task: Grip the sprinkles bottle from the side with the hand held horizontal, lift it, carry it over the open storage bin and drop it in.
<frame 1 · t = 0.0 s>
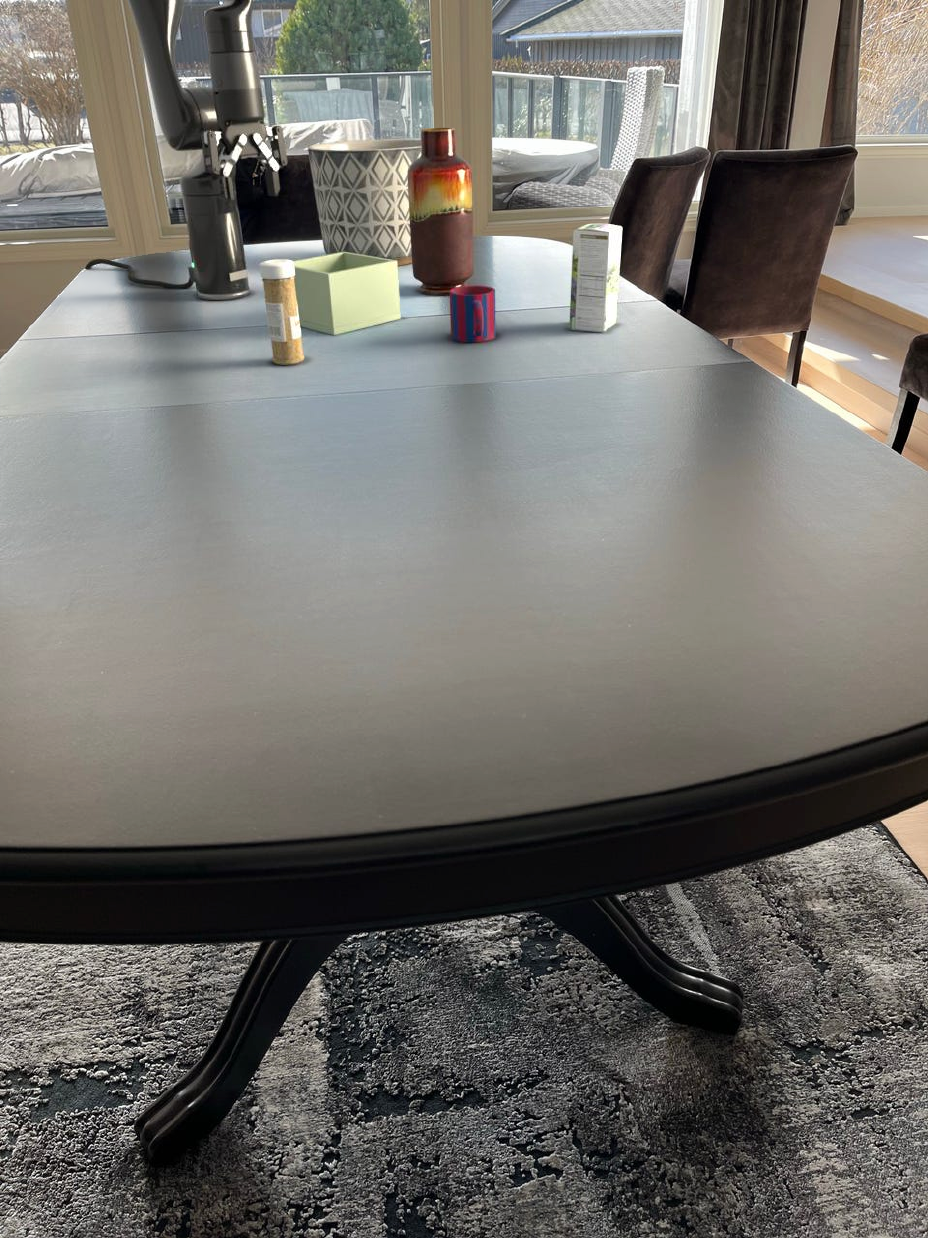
hand: (251, 198, 156), 17 cm above the table, tool pointing down, fingers open, 8 cm apart
sprinkles bottle: (288, 362, 133), on the table
syrup box: (593, 328, 145), on the table
mug: (473, 341, 141), on the table
vase: (444, 291, 171), on the table
planter: (381, 261, 198), on the table
open storage bin: (342, 320, 154), on the table
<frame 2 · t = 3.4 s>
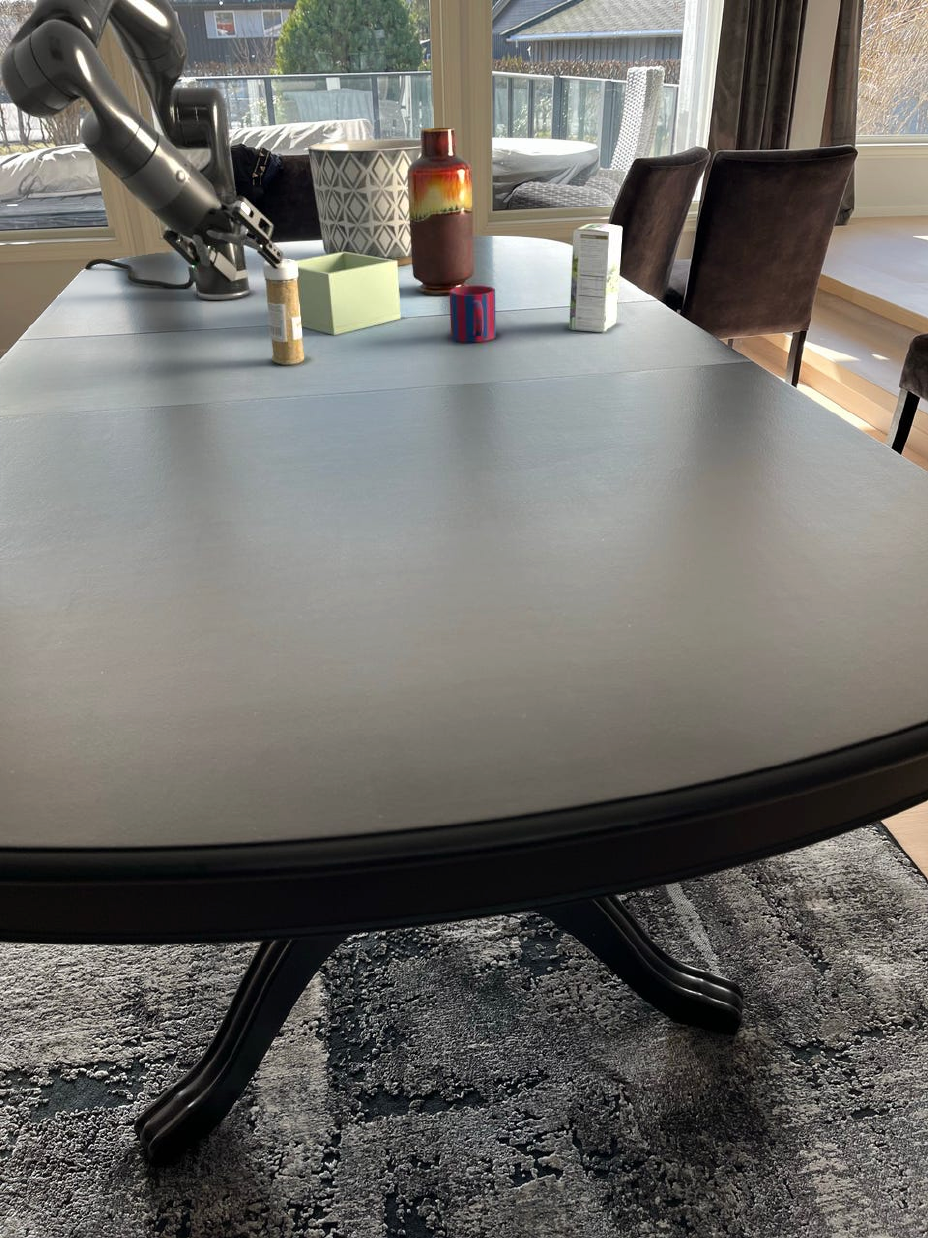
hand: (256, 269, 126), 13 cm above the table, tool tilted 45°, fingers open, 8 cm apart
sprinkles bottle: (288, 361, 133), on the table, touching gripper
everything else where it was.
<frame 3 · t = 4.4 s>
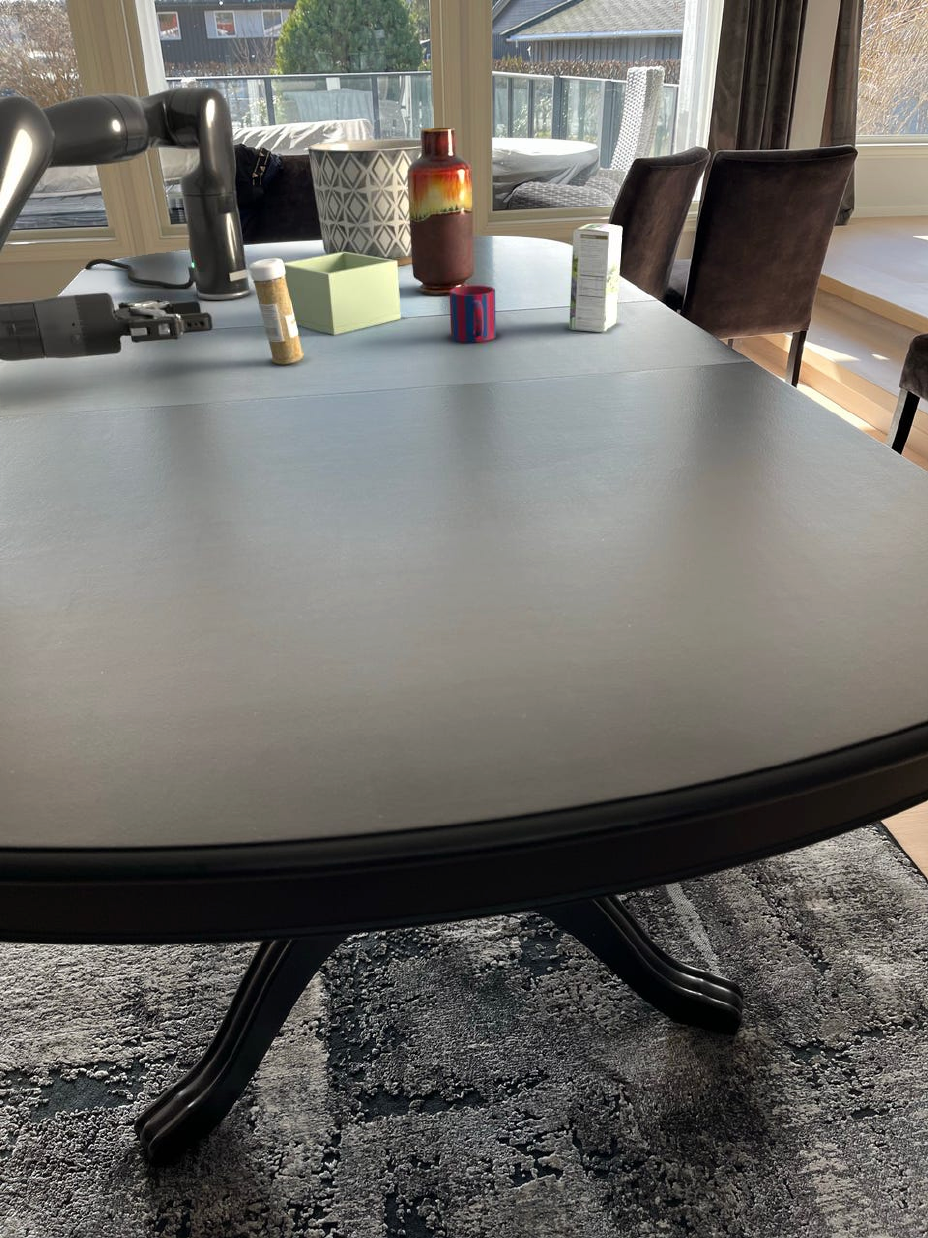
hand: (205, 315, 126), 8 cm above the table, tool horizontal, fingers open, 8 cm apart
sprinkles bottle: (288, 361, 133), on the table
everything else where it was.
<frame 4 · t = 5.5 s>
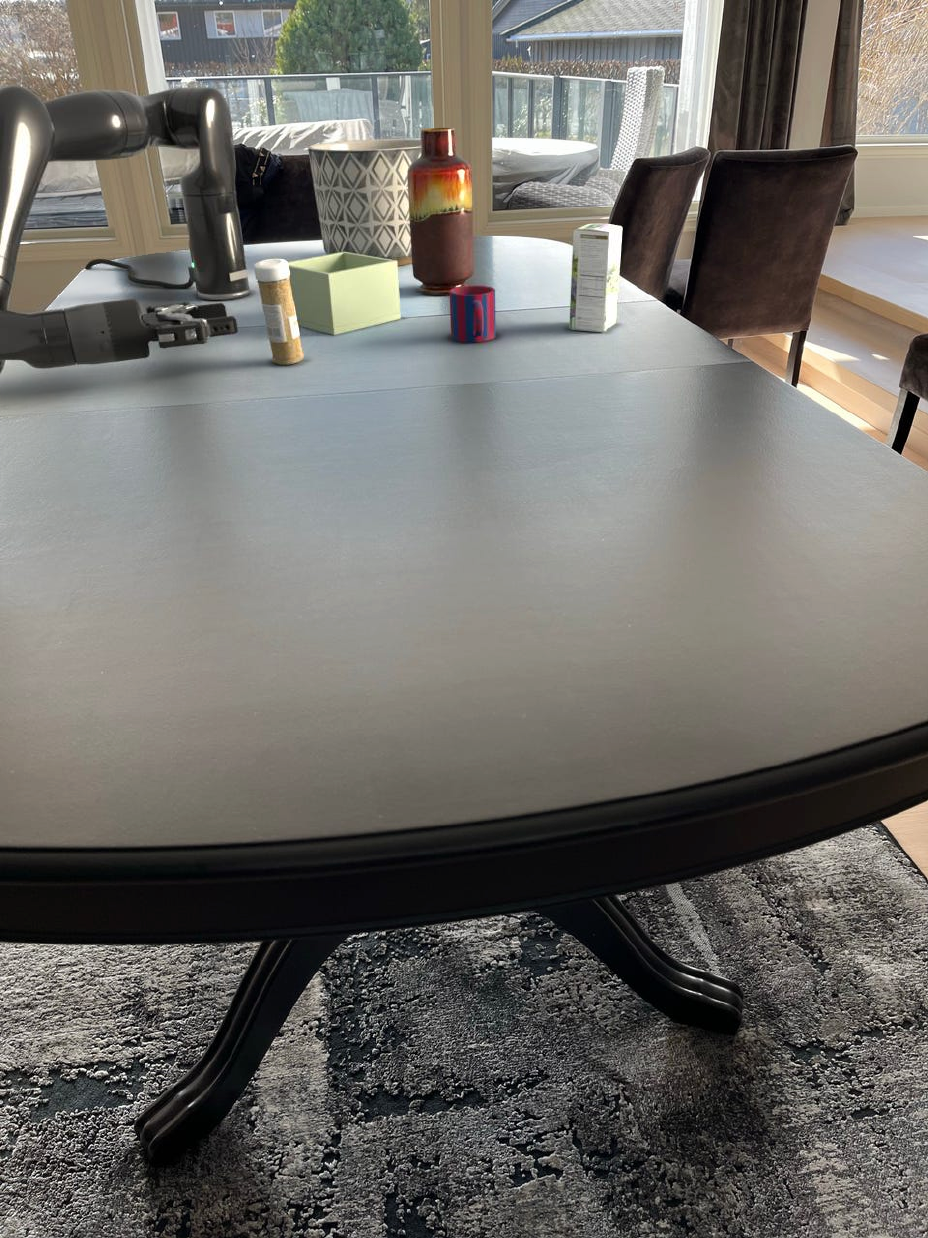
hand: (231, 317, 128), 7 cm above the table, tool horizontal, fingers open, 8 cm apart
nothing on the table moved.
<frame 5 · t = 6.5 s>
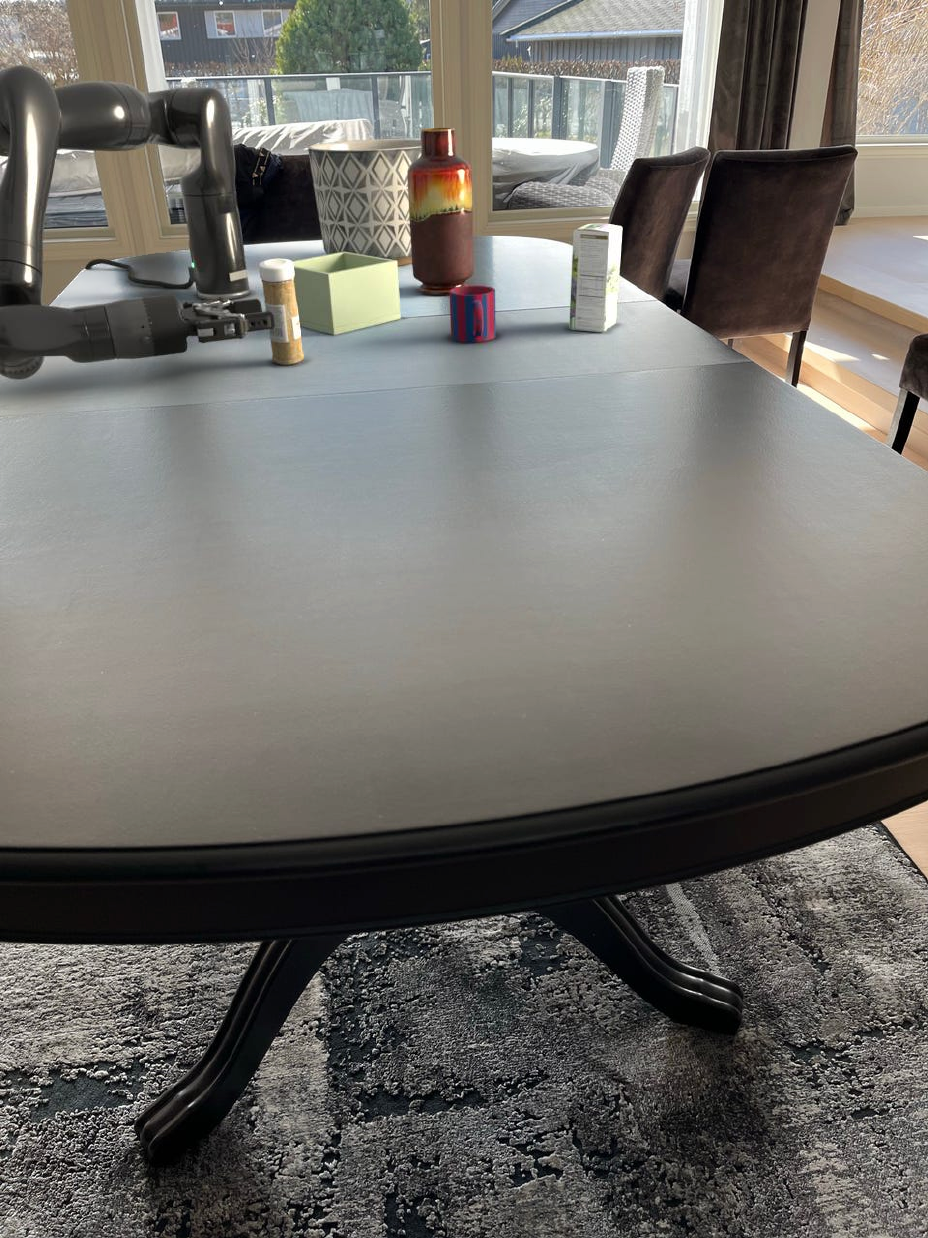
hand: (267, 312, 129), 7 cm above the table, tool horizontal, fingers open, 8 cm apart
nothing on the table moved.
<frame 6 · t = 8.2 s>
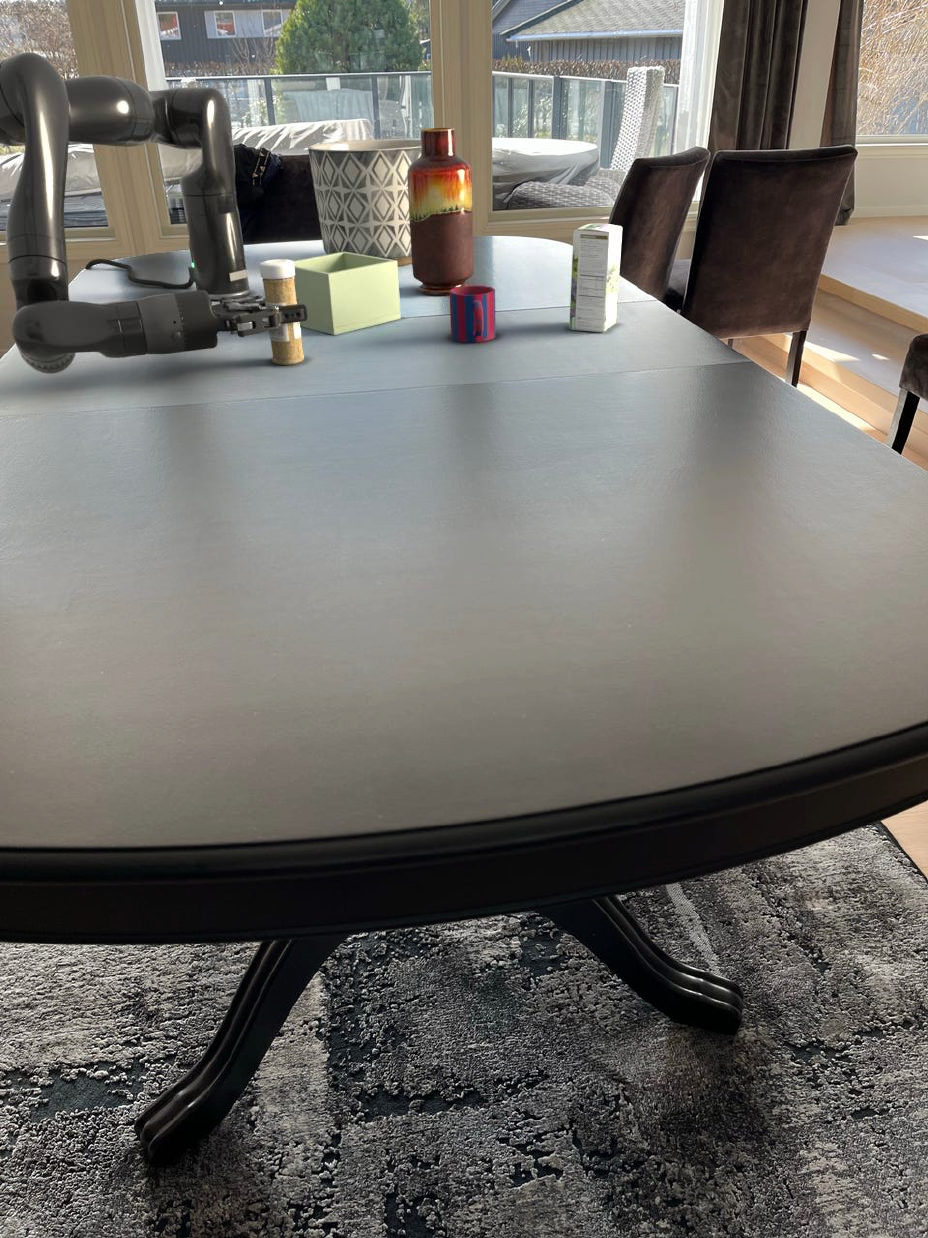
hand: (301, 308, 131), 7 cm above the table, tool horizontal, fingers closed on sprinkles bottle, 4 cm apart
sprinkles bottle: (288, 362, 133), on the table, touching gripper
everything else where it was.
when the fingers open (12 cm above the table, at t = 17.2 s): sprinkles bottle drops 4 cm, resting on open storage bin.
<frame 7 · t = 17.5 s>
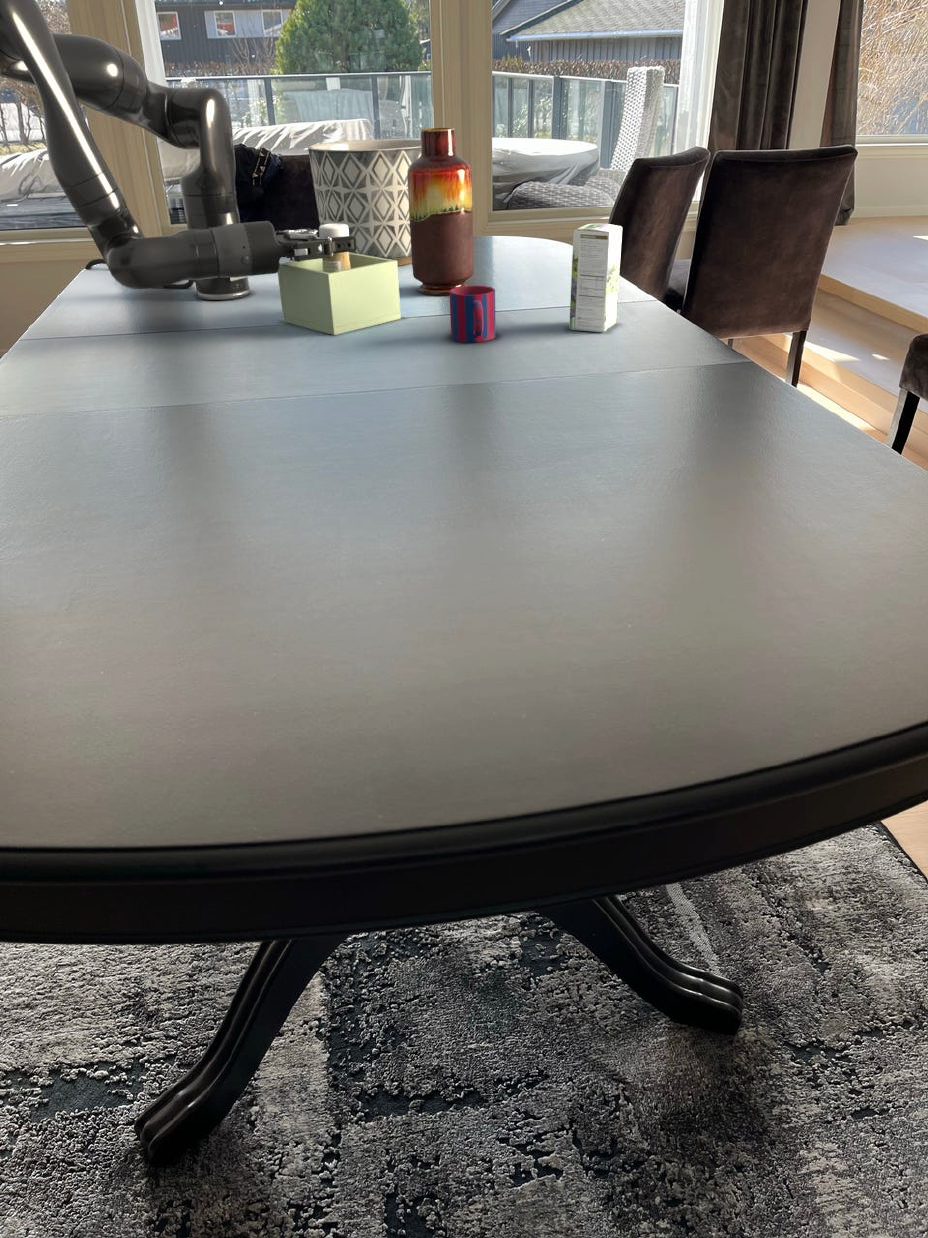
hand: (349, 239, 148), 12 cm above the table, tool horizontal, fingers open, 6 cm apart
sprinkles bottle: (340, 314, 153), point 1 cm above the table, touching open storage bin
everything else where it was.
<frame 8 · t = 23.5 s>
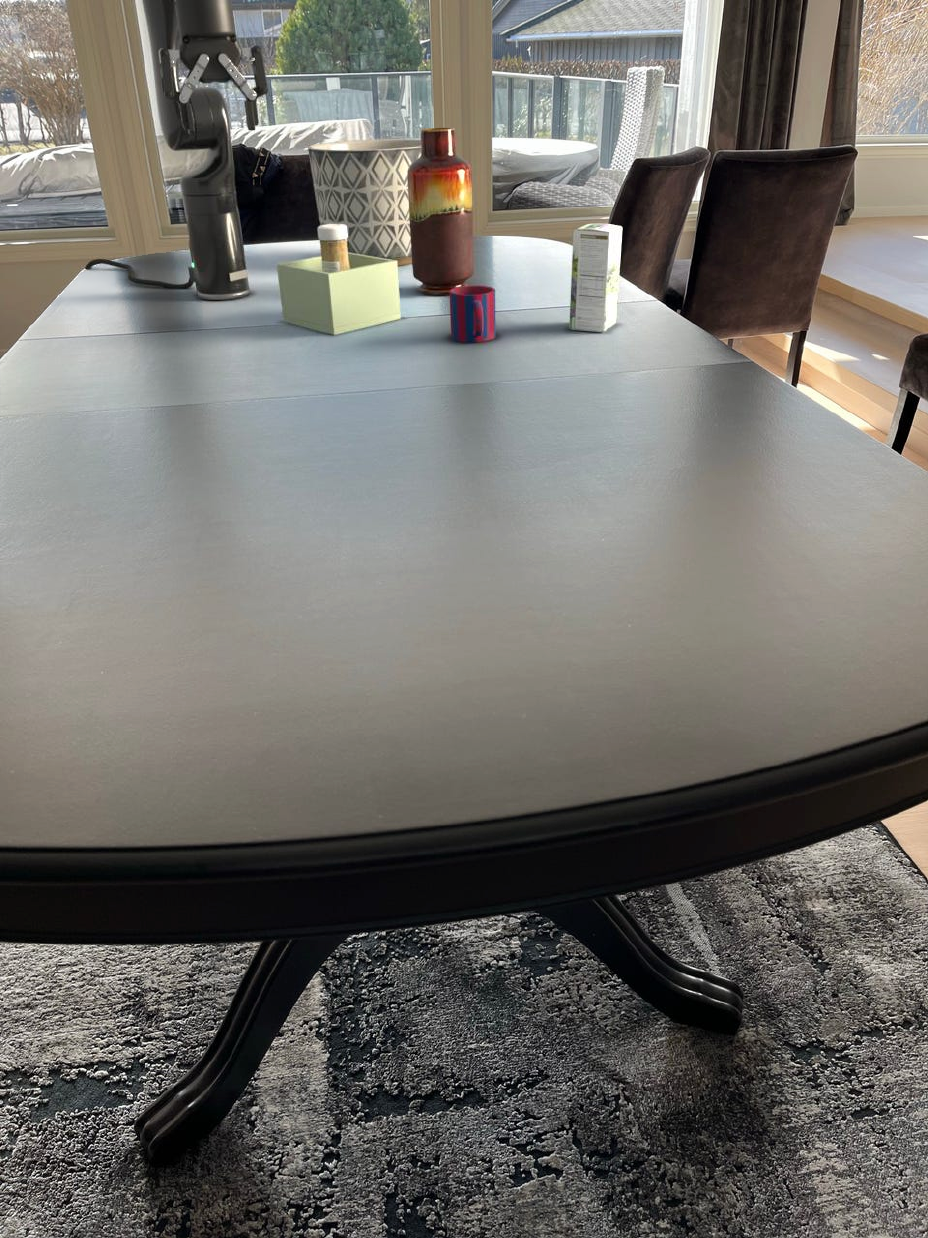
hand: (221, 131, 134), 28 cm above the table, tool pointing down, fingers open, 8 cm apart
nothing on the table moved.
at the end: sprinkles bottle inside the target area in the open storage bin (0.3 cm from its centre), point 0.8 cm above the open storage bin's base; the gripper is holding nothing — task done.
